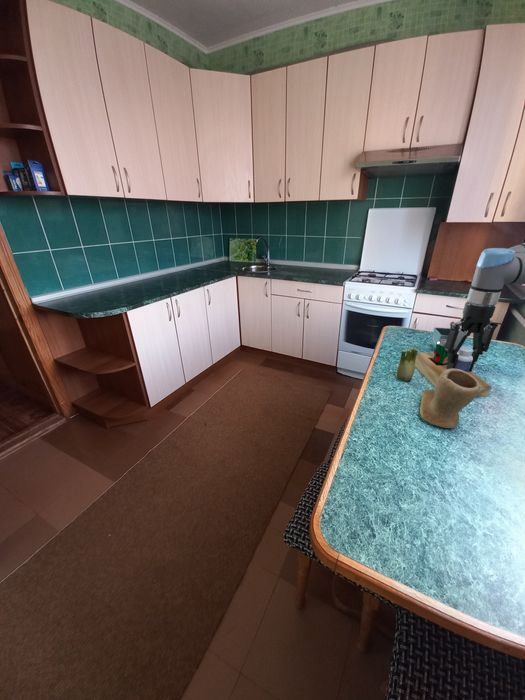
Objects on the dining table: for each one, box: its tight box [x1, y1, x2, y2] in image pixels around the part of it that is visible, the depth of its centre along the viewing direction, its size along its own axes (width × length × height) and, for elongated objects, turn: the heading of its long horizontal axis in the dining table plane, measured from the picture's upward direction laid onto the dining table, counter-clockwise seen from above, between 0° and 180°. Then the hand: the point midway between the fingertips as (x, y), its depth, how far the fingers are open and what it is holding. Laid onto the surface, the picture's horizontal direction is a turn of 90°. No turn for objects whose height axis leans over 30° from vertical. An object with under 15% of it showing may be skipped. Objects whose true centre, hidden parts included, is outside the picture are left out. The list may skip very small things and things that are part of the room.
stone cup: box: [419, 369, 480, 429], centre depth 83 cm, size 15×12×15 cm
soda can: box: [432, 339, 449, 365], centre depth 106 cm, size 5×5×12 cm
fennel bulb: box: [396, 347, 419, 382], centre depth 101 cm, size 6×5×12 cm
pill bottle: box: [455, 345, 473, 373], centre depth 96 cm, size 5×5×10 cm
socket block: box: [415, 352, 492, 398], centre depth 103 cm, size 14×24×4 cm, turn 2°
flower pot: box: [432, 327, 459, 349], centre depth 120 cm, size 9×9×9 cm
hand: (458, 370), depth 97 cm, fingers closed on pill bottle, 5 cm apart
